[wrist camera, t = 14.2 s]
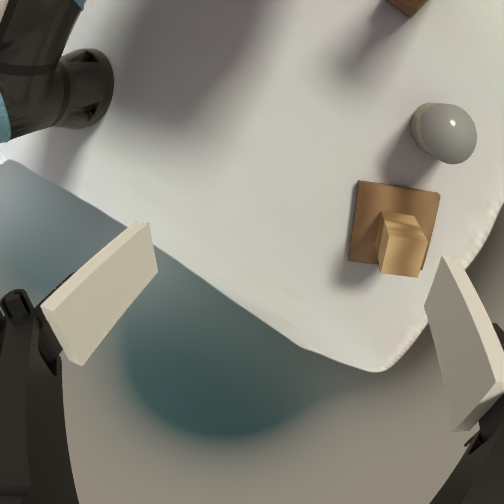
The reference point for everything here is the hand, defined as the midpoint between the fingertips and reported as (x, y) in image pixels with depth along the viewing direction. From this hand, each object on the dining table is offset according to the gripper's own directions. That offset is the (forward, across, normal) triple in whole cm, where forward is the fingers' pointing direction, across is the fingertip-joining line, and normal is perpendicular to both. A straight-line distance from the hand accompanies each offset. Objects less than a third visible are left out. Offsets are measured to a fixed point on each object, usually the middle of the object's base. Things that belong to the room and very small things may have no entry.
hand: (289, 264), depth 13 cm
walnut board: (+30, +12, -10) cm, 34 cm away
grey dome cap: (+30, +16, +5) cm, 34 cm away
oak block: (+28, +12, -10) cm, 33 cm away
